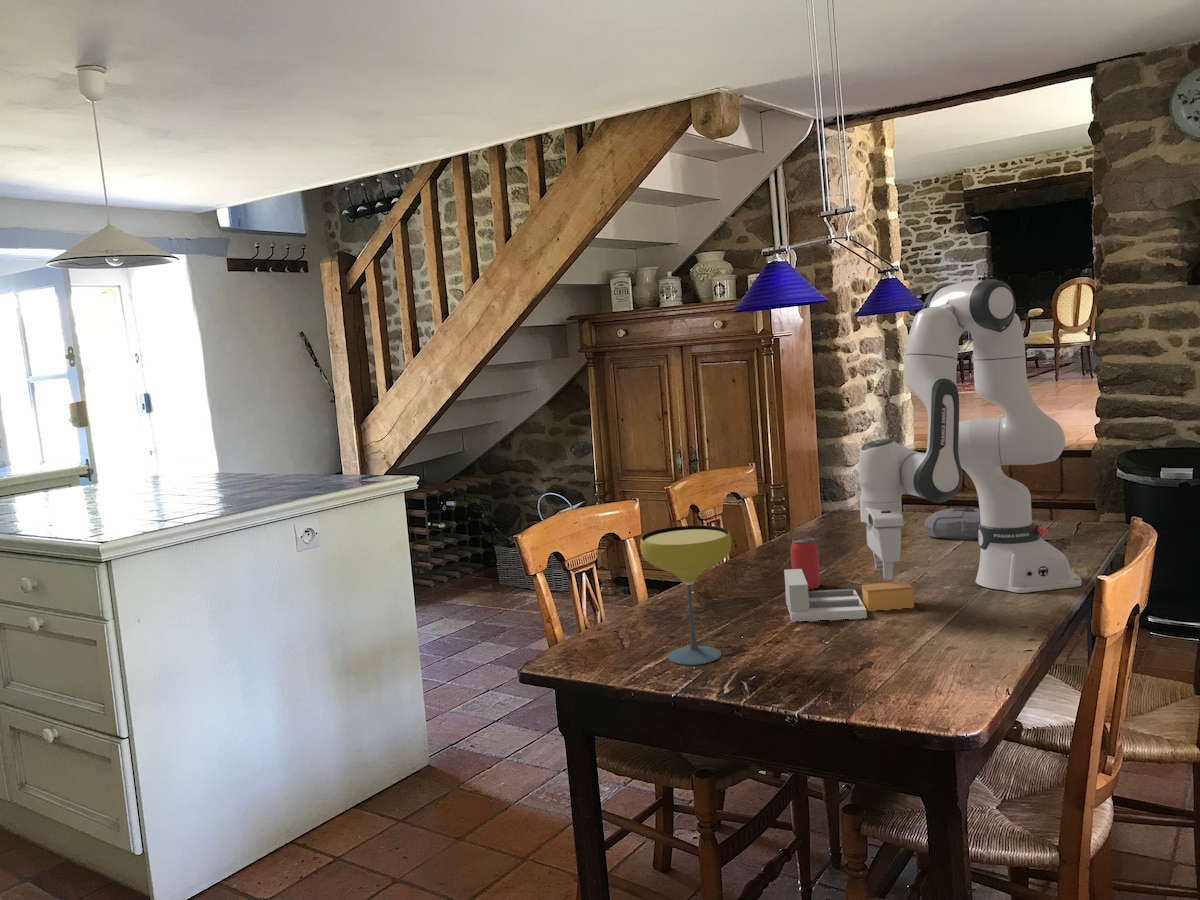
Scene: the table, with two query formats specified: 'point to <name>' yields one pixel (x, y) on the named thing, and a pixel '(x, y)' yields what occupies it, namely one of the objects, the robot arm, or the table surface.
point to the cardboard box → (888, 596)
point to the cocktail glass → (687, 570)
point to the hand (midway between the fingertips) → (883, 574)
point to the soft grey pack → (954, 524)
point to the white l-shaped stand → (820, 601)
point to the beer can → (806, 559)
